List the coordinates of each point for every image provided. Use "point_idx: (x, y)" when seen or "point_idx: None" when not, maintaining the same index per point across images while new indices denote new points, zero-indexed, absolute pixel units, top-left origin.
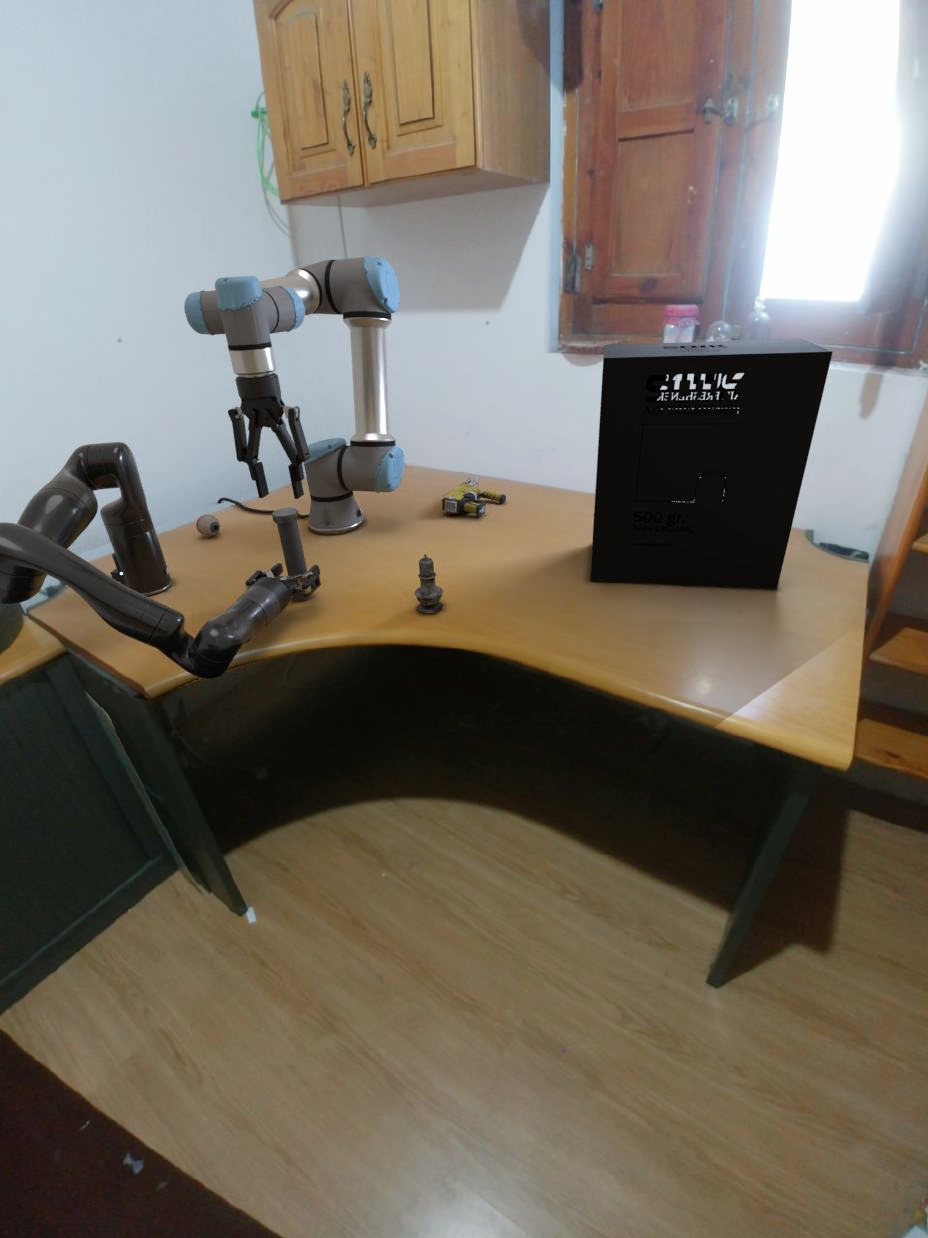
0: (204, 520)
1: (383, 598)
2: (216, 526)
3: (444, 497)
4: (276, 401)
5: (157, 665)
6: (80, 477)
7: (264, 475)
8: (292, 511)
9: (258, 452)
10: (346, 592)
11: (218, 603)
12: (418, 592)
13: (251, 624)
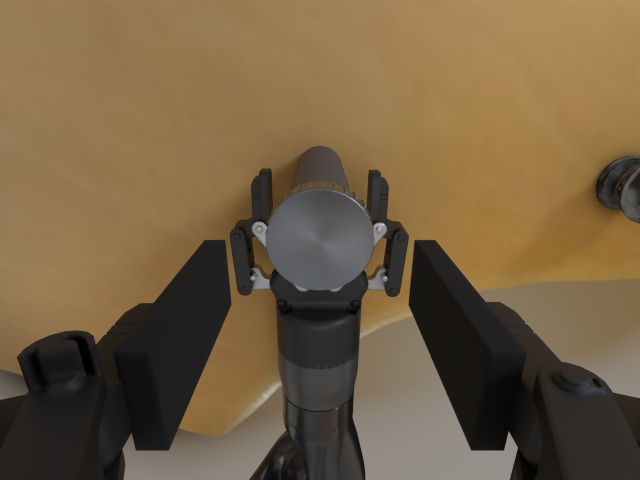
0: None
1: (513, 151)
2: None
3: None
4: None
5: (191, 402)
6: None
7: (191, 295)
8: (354, 238)
9: (87, 442)
10: (416, 132)
11: (142, 216)
12: (634, 206)
13: (352, 432)
